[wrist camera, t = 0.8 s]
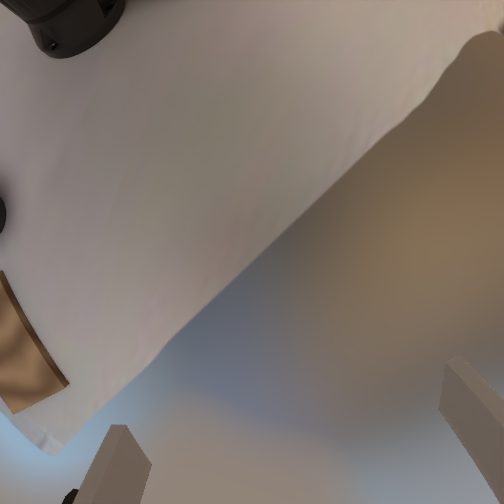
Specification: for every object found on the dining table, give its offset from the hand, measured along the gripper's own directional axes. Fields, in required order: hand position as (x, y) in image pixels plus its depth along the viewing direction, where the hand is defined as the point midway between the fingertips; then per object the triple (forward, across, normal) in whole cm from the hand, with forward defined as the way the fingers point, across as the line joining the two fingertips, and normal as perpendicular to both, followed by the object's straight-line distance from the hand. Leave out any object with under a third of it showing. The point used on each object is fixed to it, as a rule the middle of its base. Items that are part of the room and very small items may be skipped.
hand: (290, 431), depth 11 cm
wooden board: (+24, -44, -5) cm, 51 cm away
